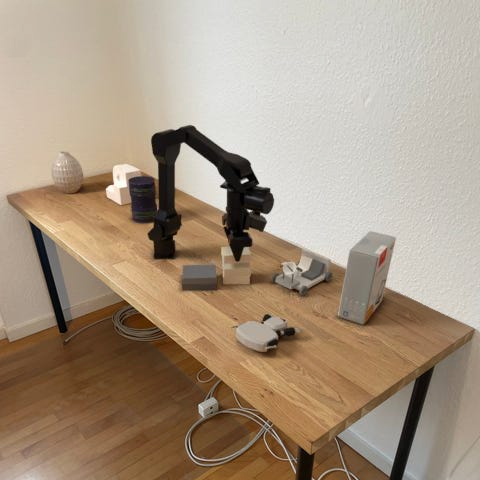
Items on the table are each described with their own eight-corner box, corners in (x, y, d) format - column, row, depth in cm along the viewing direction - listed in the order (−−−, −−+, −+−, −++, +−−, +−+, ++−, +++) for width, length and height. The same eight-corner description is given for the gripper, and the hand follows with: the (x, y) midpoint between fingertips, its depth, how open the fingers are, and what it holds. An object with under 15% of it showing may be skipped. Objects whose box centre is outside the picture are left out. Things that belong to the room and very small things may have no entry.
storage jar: (161, 215, 189) (158, 177, 181) (153, 224, 181) (150, 185, 173) (137, 212, 190) (133, 175, 182) (128, 222, 182) (123, 183, 174)
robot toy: (266, 321, 129) (226, 340, 119) (268, 306, 126) (227, 325, 117) (302, 341, 122) (262, 363, 112) (304, 325, 119) (264, 347, 110)
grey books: (182, 290, 140) (181, 278, 138) (183, 276, 147) (182, 264, 145) (216, 290, 141) (216, 278, 138) (216, 276, 148) (216, 264, 146)
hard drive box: (364, 326, 126) (377, 257, 115) (336, 317, 130) (347, 250, 119) (382, 300, 137) (396, 236, 126) (357, 293, 141) (368, 229, 130)
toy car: (298, 270, 131) (266, 256, 138) (295, 300, 136) (264, 286, 143) (335, 250, 142) (304, 238, 148) (331, 279, 147) (302, 267, 154)
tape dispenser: (143, 199, 203) (140, 170, 196) (121, 205, 197) (117, 174, 190) (124, 190, 213) (121, 161, 206) (103, 194, 207) (98, 165, 200)
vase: (50, 190, 210) (42, 151, 201) (77, 184, 218) (70, 146, 209) (63, 198, 203) (55, 157, 194) (91, 191, 210) (85, 152, 201)
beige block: (222, 284, 143) (222, 269, 140) (222, 274, 149) (222, 259, 146) (250, 284, 144) (251, 269, 141) (249, 274, 149) (249, 259, 146)
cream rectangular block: (223, 263, 139) (223, 255, 138) (221, 254, 144) (221, 246, 143) (250, 262, 140) (251, 254, 139) (247, 253, 145) (247, 245, 144)
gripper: (272, 217, 127) (269, 269, 135) (259, 193, 142) (256, 242, 151) (230, 218, 125) (230, 271, 134) (221, 194, 141) (221, 243, 149)
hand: (235, 256), depth 142 cm, fingers closed on cream rectangular block, 6 cm apart
